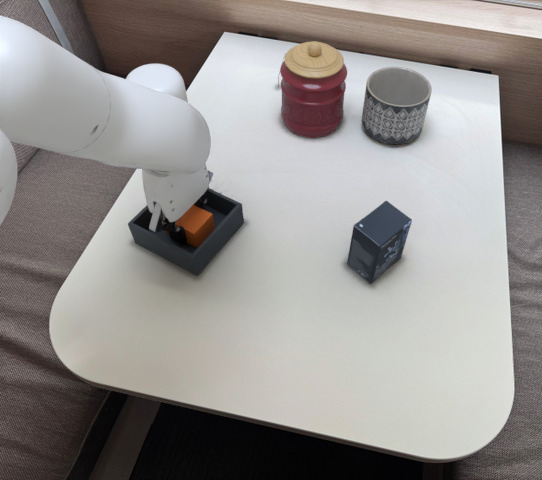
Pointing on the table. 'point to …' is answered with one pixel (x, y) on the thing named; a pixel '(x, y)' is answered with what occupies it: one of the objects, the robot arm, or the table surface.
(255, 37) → the table surface
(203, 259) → the tray
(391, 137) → the planter
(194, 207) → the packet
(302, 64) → the kitchen canister
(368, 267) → the box
